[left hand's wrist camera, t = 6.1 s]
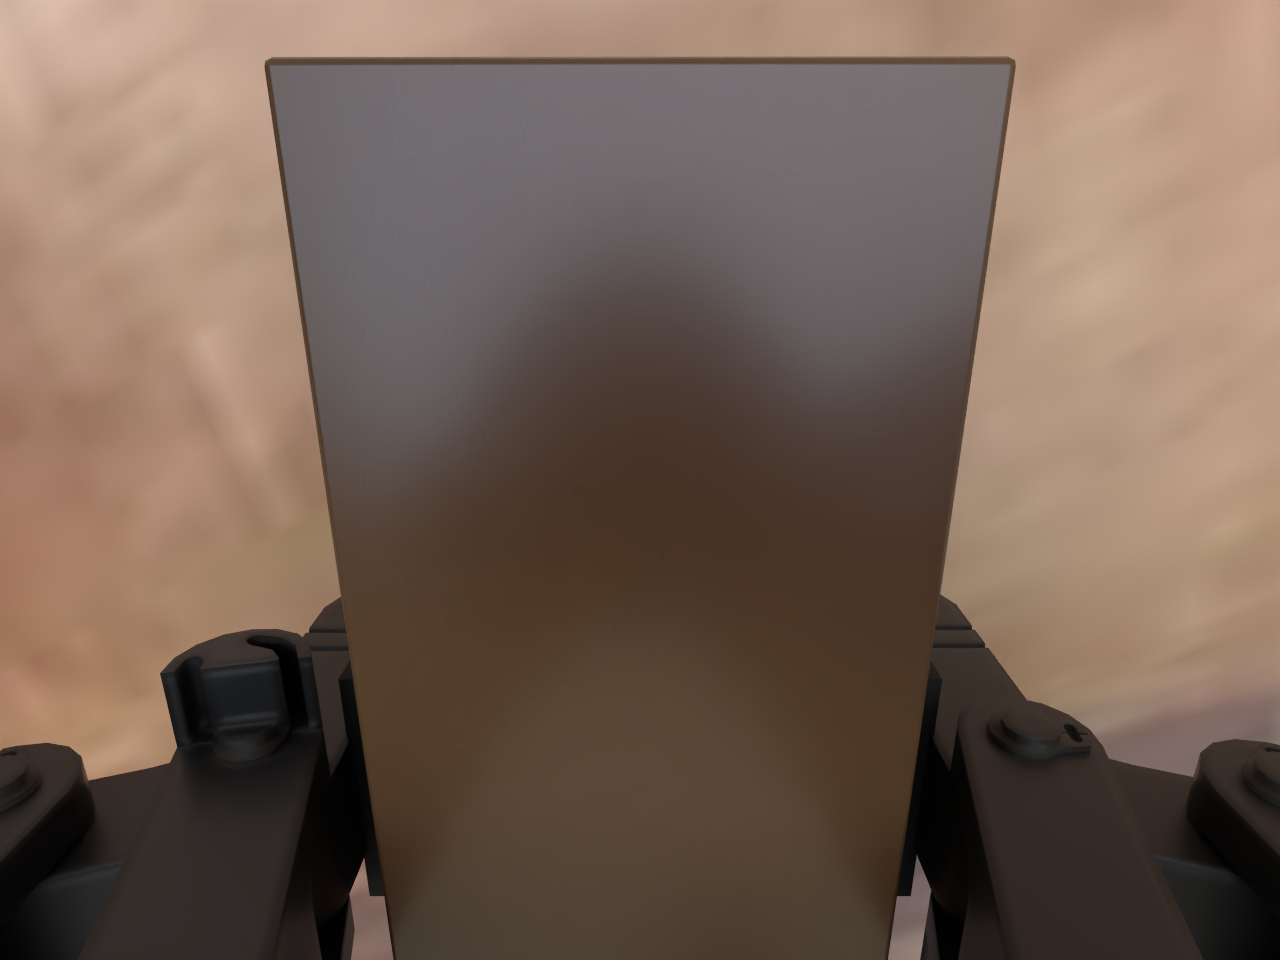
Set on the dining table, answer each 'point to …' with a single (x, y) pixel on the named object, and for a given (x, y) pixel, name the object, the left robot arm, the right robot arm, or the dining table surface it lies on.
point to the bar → (640, 477)
